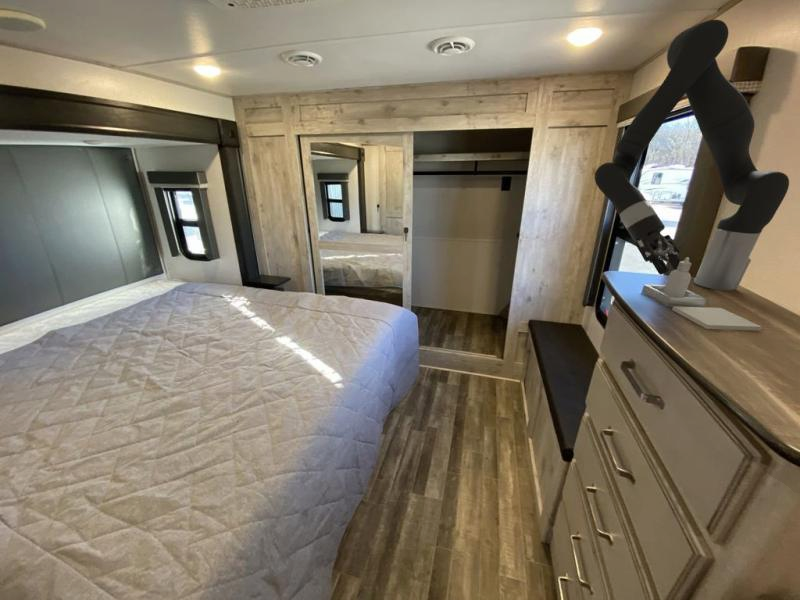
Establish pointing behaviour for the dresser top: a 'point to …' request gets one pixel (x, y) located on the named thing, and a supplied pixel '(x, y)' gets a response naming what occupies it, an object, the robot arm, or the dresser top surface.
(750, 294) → the dresser top surface
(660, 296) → the grey square tray
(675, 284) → the eye dropper bottle
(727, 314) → the cream pad
